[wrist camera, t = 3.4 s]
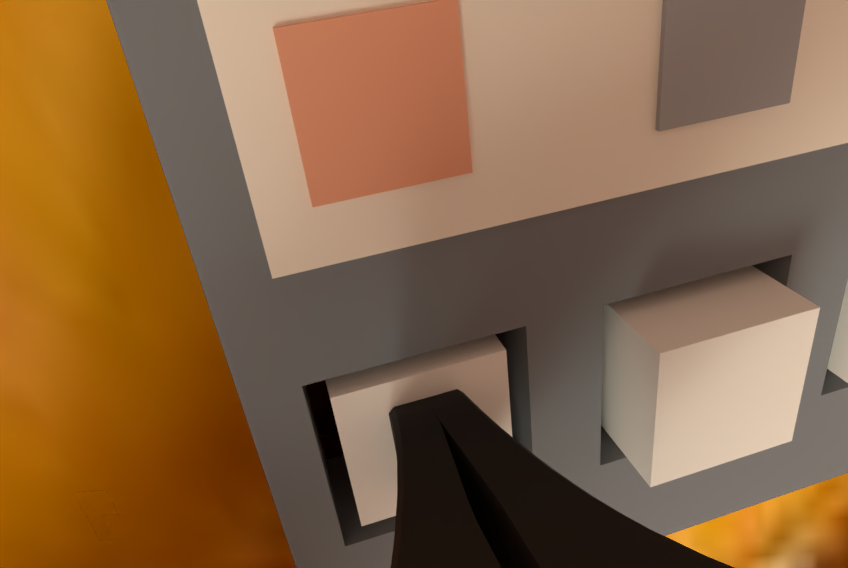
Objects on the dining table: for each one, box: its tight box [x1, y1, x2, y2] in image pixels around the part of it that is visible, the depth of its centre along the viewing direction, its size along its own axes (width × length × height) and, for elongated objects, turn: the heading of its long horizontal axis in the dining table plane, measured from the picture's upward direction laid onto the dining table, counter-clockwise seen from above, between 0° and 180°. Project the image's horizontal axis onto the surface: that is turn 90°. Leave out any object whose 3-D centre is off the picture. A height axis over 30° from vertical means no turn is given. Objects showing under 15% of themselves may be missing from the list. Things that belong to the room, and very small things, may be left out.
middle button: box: [601, 265, 820, 487], centre depth 13 cm, size 3×3×2 cm
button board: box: [106, 0, 848, 568], centre depth 13 cm, size 17×14×3 cm
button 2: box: [325, 334, 512, 526], centre depth 13 cm, size 3×3×2 cm
